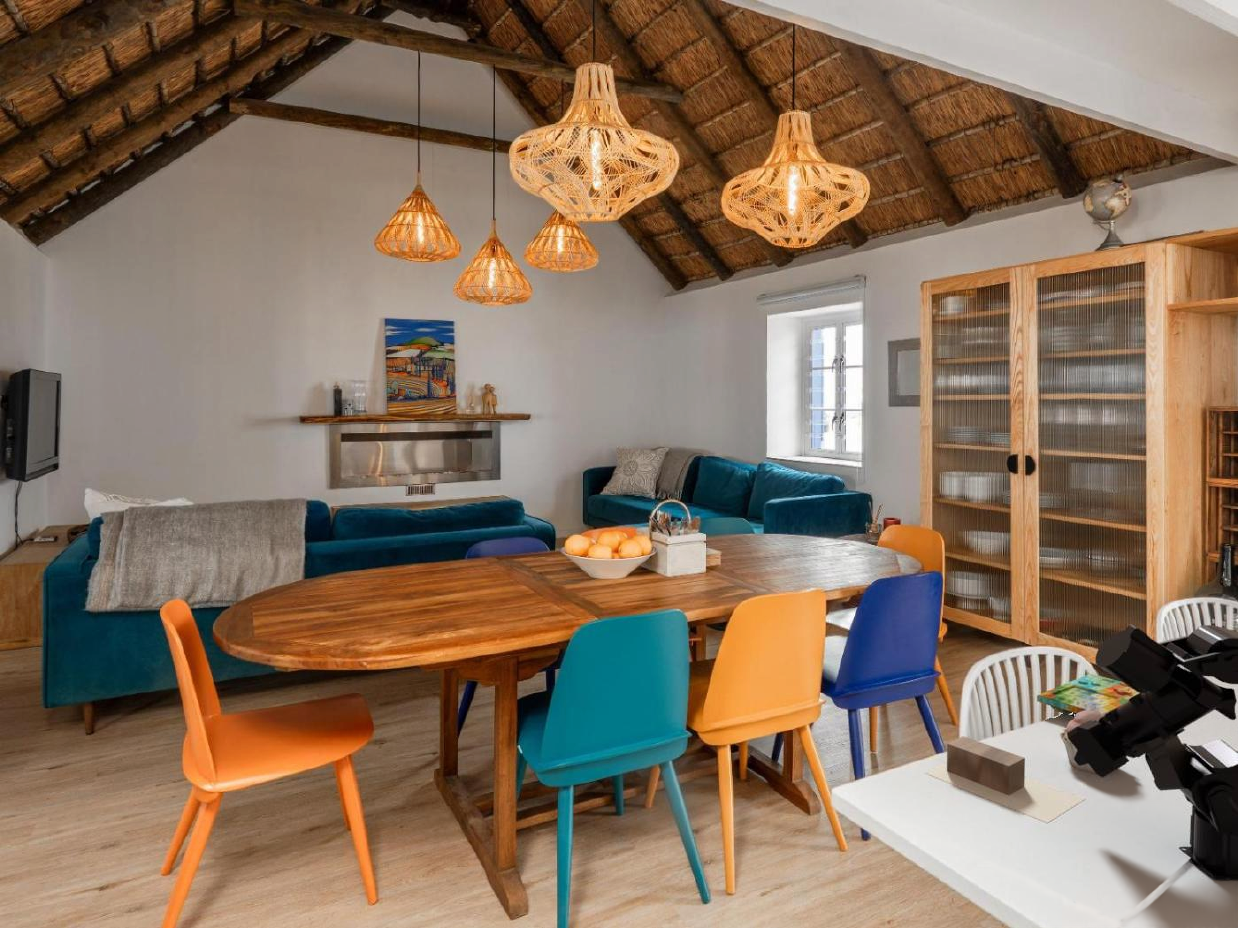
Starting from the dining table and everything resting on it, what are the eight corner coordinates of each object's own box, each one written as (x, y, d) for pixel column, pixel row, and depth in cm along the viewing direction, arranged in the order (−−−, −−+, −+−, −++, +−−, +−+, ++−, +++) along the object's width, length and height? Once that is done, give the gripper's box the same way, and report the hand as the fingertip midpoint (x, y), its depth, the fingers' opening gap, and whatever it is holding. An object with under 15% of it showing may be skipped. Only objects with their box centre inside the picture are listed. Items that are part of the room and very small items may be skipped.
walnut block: (1024, 757, 120) (963, 736, 128) (1009, 766, 117) (947, 743, 125) (1024, 786, 120) (962, 763, 128) (1008, 795, 117) (946, 770, 125)
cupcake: (1125, 762, 128) (1126, 702, 128) (1127, 786, 120) (1129, 722, 120) (1059, 750, 133) (1060, 692, 132) (1057, 773, 125) (1059, 711, 124)
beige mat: (1085, 802, 116) (1085, 798, 116) (1047, 827, 110) (1047, 822, 110) (963, 757, 131) (964, 753, 131) (924, 776, 125) (924, 772, 125)
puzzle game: (1156, 686, 150) (1103, 709, 139) (1155, 710, 150) (1102, 735, 139) (1092, 669, 160) (1037, 690, 149) (1091, 692, 160) (1036, 714, 149)
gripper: (1185, 788, 92) (1086, 840, 101) (1248, 745, 102) (1153, 796, 112) (1112, 702, 98) (1025, 759, 108) (1178, 670, 108) (1094, 725, 118)
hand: (1077, 761), depth 111 cm, fingers closed
